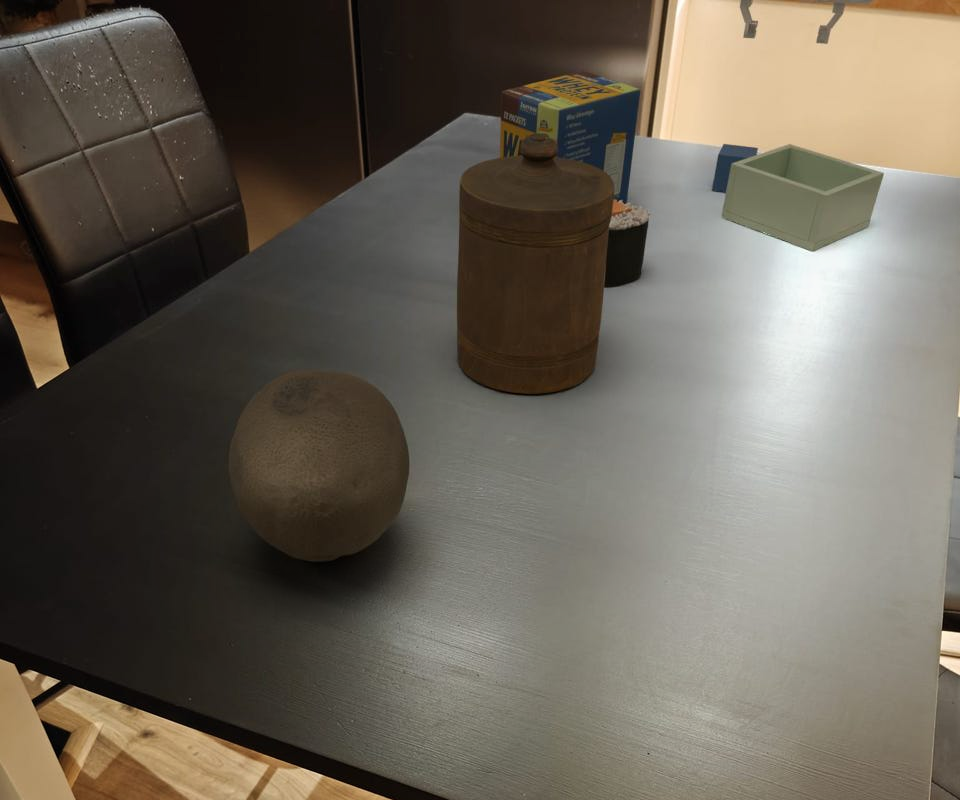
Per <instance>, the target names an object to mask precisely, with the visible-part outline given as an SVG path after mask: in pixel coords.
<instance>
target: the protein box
mask: <svg viewBox="0 0 960 800" xmlns="http://www.w3.org/2000/svg"><path fill="white" fill-rule="evenodd" d="M641 91H642V90H641V89H640V88H637V87H635V86H631V85H628V84H626V83H622V82H619V81H616V80H613V79H610V78H606V77H603V76H601V75H598V74H594V73H591V72H588V71H585V70H581V71H577V72H574V73H573V72H572V73H570V74H567V75H566V74H565V75H561V76H558V77H553V78H549V79H545V80H542V81H536V82H533V83H529V84H525V85H521V86H517V87H513V88H507V89H504V90H501V94H500V95H501V96H500V132H499V133H500V135H499V158H502V157H509V156H522V155H521V152H520V146H521V142H522V141H523V140H524V139H525V138H527V137H529V136H530V135H531V134H535V133H540V134H541V133H543V134H547V135H549V138H551V139H553V140H554V141H555V142H556V144H557V146H558V154H557V155H556V156H555V157H559V158H565V159H571V160H576V161H580V162H583V163H587V164H590V165H592V166H595V167H597V168H599V169H601V170H602V171H604V172H606V173H607V174H608V175H609V176H610V177H611V178H612V180H613V182H614V199H615V200H617V202H618V201H620V200H622V201H623V203H624V204H626V203H628V195H629V188H630V180H631V173H632V171H631V170H632V162H633V156H634V146H635V138H636V131H637V123H638V113H639V107H640V99H641V98H640V97H641Z"/></svg>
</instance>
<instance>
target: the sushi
mask: <svg viewBox="0 0 960 800" xmlns="http://www.w3.org/2000/svg"><path fill="white" fill-rule="evenodd" d="M631 204H632V203H631V202H627V203H626V204H624V203H623V201H622V200H620V201H618V202H617V200H615V199H614V200H613V209H612V216H611V221H610V224H609V234H608V245H607V257H606V268H605V281H604V288H605V287H606V288H611V287H612V288H613V287H618V286H622V285H626V284H629V283H631V282H633V281H636V280H638V279H639V278H640V277H641V276H642V271H643V265H644V257H645V249H646V243H647V235H648V228H649V220H650V216H651V212H650V211H649V210H648V209H643V206H642V205H640V206H638V205H631Z"/></svg>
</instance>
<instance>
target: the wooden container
mask: <svg viewBox="0 0 960 800" xmlns="http://www.w3.org/2000/svg"><path fill="white" fill-rule="evenodd" d="M520 152H521V155H522V156H509V157H502V158H500V157H497V158H491V159H487V160H484V161H481V162H478V163H475V164H474V165H472V166H470V167H468V168H467V169H465V171H464V172H463V173H462V174H461V176H460V179H459V193H458V195H459V197H458V204H459V205H458V211H459V212H458V214H459V219H458V251H457V252H458V253H457V254H458V256H457V276H456V277H457V278H456V281H457V282H456V354H457V356H456V357H457V358H456V359H457V363H458V366H459V367H460V369H461V370H462V371H463V373H464V374H465V375H467V377H469V378H470V379H472V380H473V381H475V382H477V383H479V384H480V385H483V386H486V387H488V388H491V389H494V390H498V391H502V392H505V393H506V392H508V393H513V394H515V393H516V394H525V395H536V394H549V393H554V392H555V393H556V392H560V391H564V390H567V389H570V388H572V387H574V386H576V385H577V386H578V384H581V383H582V382H584V381H585V380H586V379H588V378H589V376H590V375H591V374H592V373H593V372H594V370H595V367H596V364H597V363H596V362H597V361H596V360H597V354H598V348H599V336H600V329H601V323H602V315H603V314H602V313H603V304H604V293H605V286H604V281H605V268H606V257H607V245H608V234H609V224H610V221H611V216H612V209H613V200H614V182H613V180H612V178H611V177H610V176H609V175H608V174H607V173H606V172H604V171H602V170H601V169H599V168H597V167H595V166H592V165H590V164H587V163H583V162H580V161H576V160H571V159H565V158H559V157H555V156H556V155H557V154H558V146H557V144H556V142H555V141H554V140H553V139H551V138H549V135H547V134H543V133H541V134H540V133H535V134H531V135H530V136H529V137H527V138H525V139H524V140H523V141H522V142H521V146H520Z"/></svg>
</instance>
